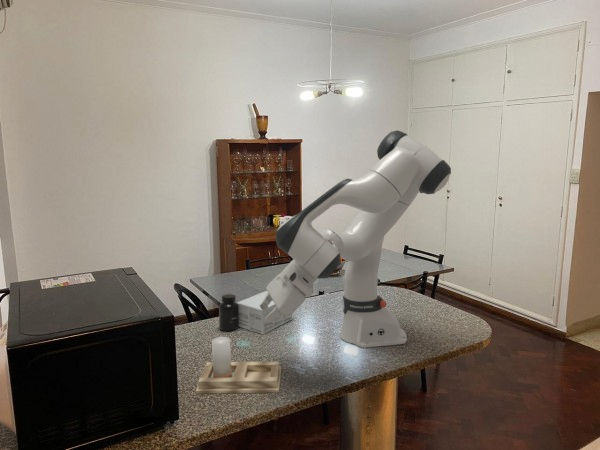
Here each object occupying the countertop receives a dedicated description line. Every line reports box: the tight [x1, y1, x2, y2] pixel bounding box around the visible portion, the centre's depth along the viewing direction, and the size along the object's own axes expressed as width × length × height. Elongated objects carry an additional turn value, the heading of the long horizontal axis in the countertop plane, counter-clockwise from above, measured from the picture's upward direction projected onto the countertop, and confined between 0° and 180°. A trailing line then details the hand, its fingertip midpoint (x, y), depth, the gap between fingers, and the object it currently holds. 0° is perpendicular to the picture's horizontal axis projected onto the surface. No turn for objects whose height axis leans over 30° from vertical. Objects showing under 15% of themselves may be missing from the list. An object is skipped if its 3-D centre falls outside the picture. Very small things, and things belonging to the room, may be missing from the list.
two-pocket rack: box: [195, 361, 282, 394], centre depth 123 cm, size 22×13×3 cm, turn 89°
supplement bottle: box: [218, 293, 239, 332], centre depth 159 cm, size 7×7×12 cm
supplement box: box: [236, 290, 293, 335], centre depth 164 cm, size 17×13×9 cm
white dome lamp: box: [211, 336, 232, 378], centre depth 122 cm, size 5×5×11 cm
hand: (264, 314), depth 124 cm, fingers open, 8 cm apart
